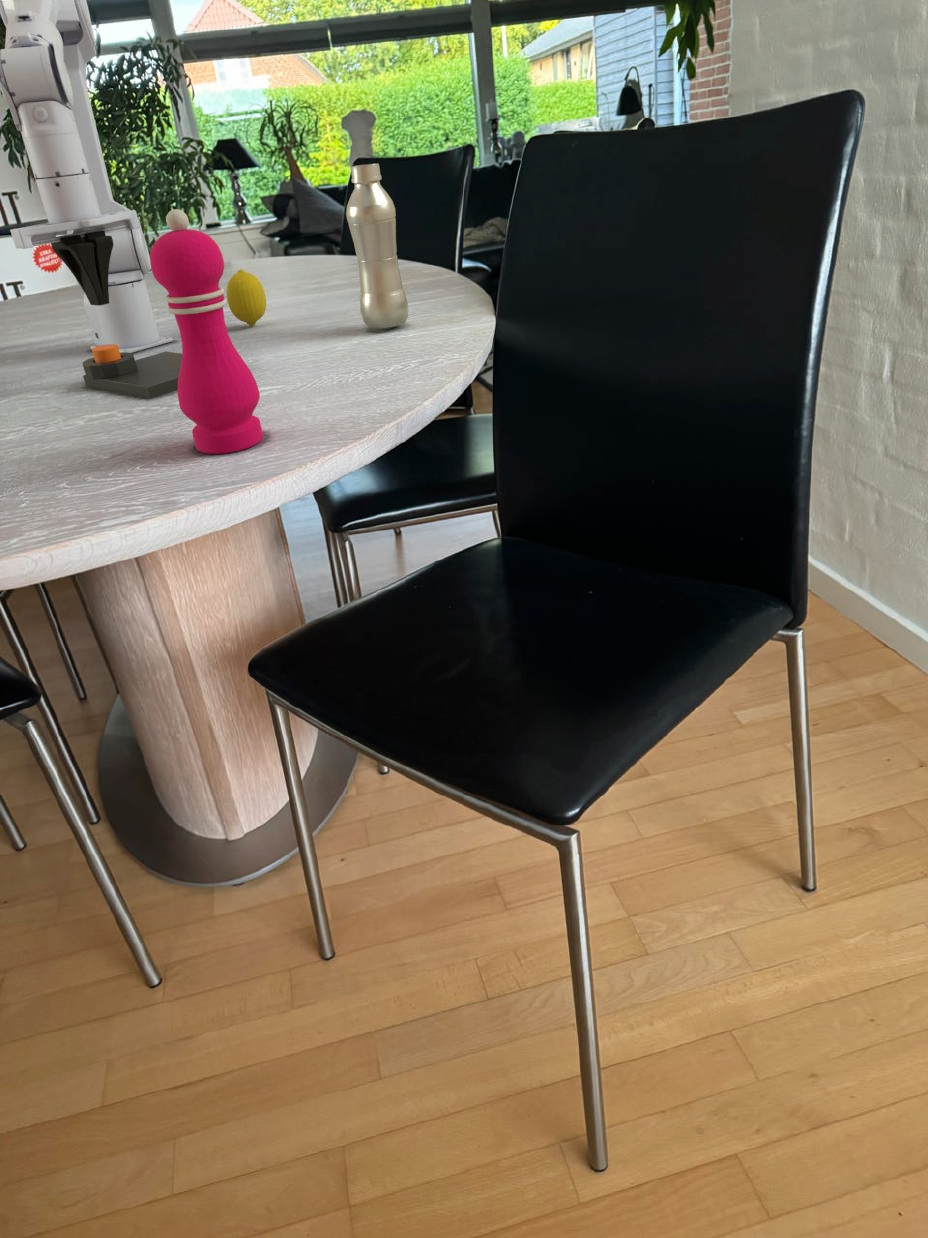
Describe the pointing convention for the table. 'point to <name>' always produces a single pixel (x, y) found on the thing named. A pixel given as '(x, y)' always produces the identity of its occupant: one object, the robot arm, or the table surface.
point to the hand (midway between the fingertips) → (100, 304)
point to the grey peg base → (135, 374)
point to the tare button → (106, 353)
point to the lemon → (246, 297)
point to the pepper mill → (205, 341)
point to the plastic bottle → (376, 250)
